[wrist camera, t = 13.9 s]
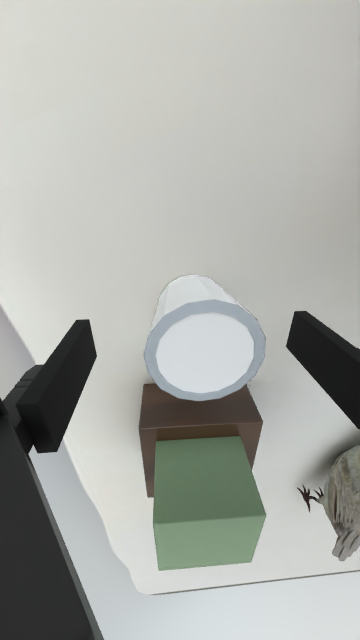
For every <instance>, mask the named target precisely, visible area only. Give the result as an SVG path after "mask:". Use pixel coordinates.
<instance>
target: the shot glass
mask: <svg viewBox="0 0 360 640" xmlns="http://www.w3.org/2000/svg"><path fill="white" fill-rule="evenodd" d="M264 356H265V336H264V334H263V331H262V329H261V327H260V325H259V323H258V321H257V319H256V318H255V317H254V316H253V315H252V314H250V313H249V312H248V311H247V310H246V309H245V308H244V307H243V306H241V305H240V304H239V303H238V302H237V301H236V300H235V299H234V298H232V297H231V296H230V295H229V294H228V293H227V292H226V291H225V290H223V289H222V288H221V287H220V286H219V285H218V284H216V283H215V282H214V281H213V280H211V279H210V278H209V277H205V276H201V275H197V274H193V275H186V276H181V277H179V278H177V279H175V280H174V281H172V282H170V283H169V284H168V285H167V287H166V288H165V289H164V291H163V292H162V293H161V295H160V299H159V302H158V305H157V309H156V312H155V315H154V319H153V322H152V325H151V329H150V332H149V335H148V339H147V344H146V348H145V352H144V358H145V362H146V367H147V371H148V374H149V375H150V377H151V378H152V379H153V380H154V381H155V383H156V384H157V385H158V386H159V387H160V389H162V390H164V391H166V392H168V393H170V394H171V395H173V396H175V397H177V398H181V399H187V400H194V401H205V400H212V399H219V398H222V397H224V396H226V395H228V394H231V393H233V392H235V391H237V390H239V389H241V388H242V387H243V386H244V385H245V384H246V383H247V382H248V381H249V380H251V379H252V378H253V377H254V376H255V375H256V373H257V371H258V369H259V367H260V365H261V363H262V361H263V359H264Z"/></svg>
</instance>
